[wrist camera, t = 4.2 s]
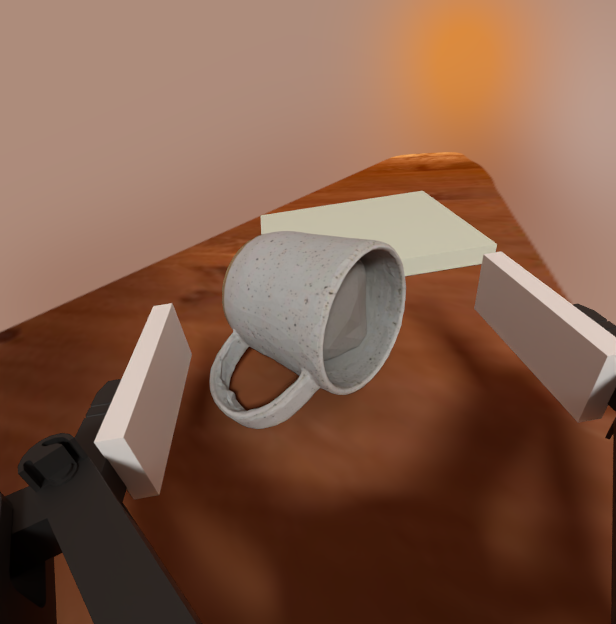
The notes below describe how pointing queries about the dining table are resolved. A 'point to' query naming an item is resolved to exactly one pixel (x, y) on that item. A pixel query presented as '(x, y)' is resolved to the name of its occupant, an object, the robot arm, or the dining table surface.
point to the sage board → (395, 229)
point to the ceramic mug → (309, 316)
